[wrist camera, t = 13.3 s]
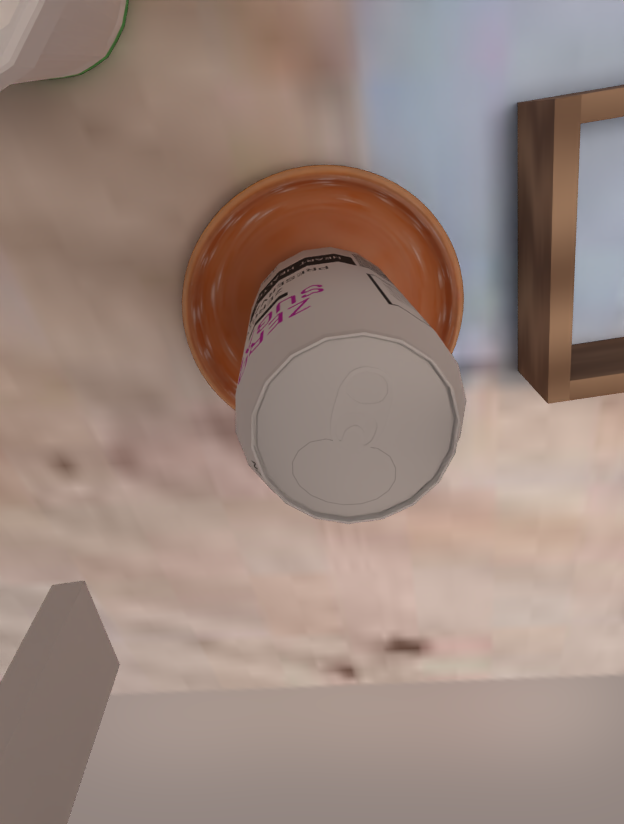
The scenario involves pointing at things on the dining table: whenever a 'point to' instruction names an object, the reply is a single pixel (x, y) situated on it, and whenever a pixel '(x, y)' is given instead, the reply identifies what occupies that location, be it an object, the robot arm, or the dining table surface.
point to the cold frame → (557, 249)
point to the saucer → (304, 230)
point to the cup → (56, 37)
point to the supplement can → (345, 390)
